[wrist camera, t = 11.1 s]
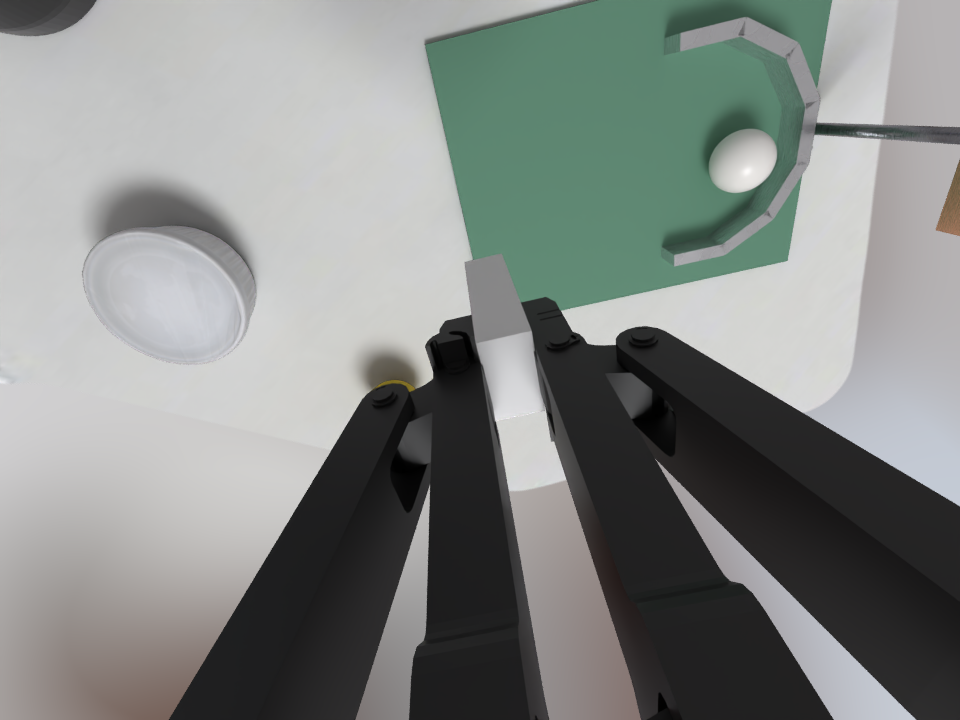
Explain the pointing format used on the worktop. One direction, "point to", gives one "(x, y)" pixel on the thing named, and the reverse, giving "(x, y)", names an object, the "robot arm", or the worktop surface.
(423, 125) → the worktop surface
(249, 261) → the worktop surface
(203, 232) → the ramekin
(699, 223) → the putting mat
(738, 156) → the golf ball
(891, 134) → the cup
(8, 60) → the worktop surface
